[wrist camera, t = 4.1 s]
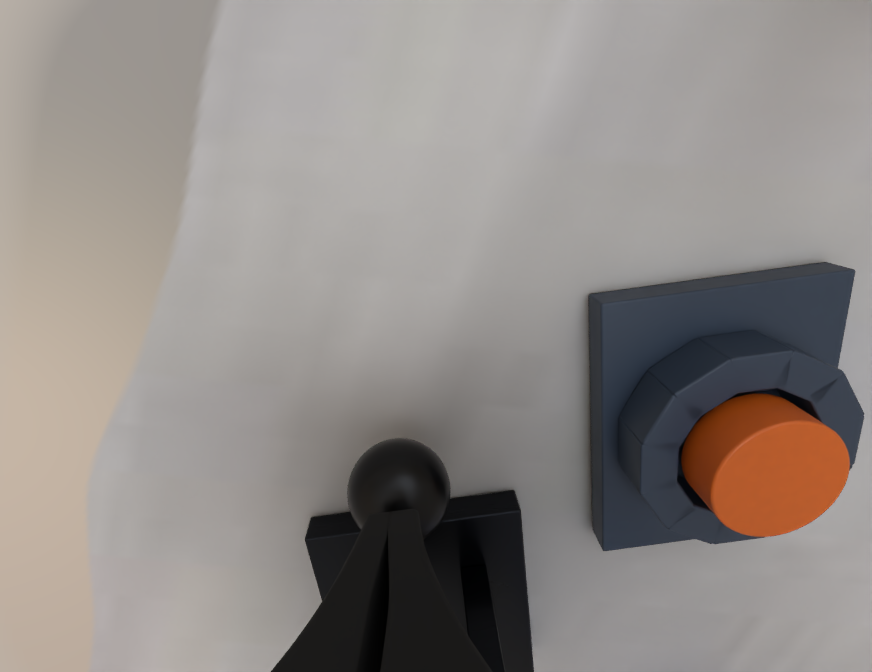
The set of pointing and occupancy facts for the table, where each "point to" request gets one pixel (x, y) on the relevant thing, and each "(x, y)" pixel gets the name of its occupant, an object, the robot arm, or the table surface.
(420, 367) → the table surface
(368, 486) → the switch lever
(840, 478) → the button
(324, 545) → the switch bracket
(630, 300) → the button box
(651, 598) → the table surface
